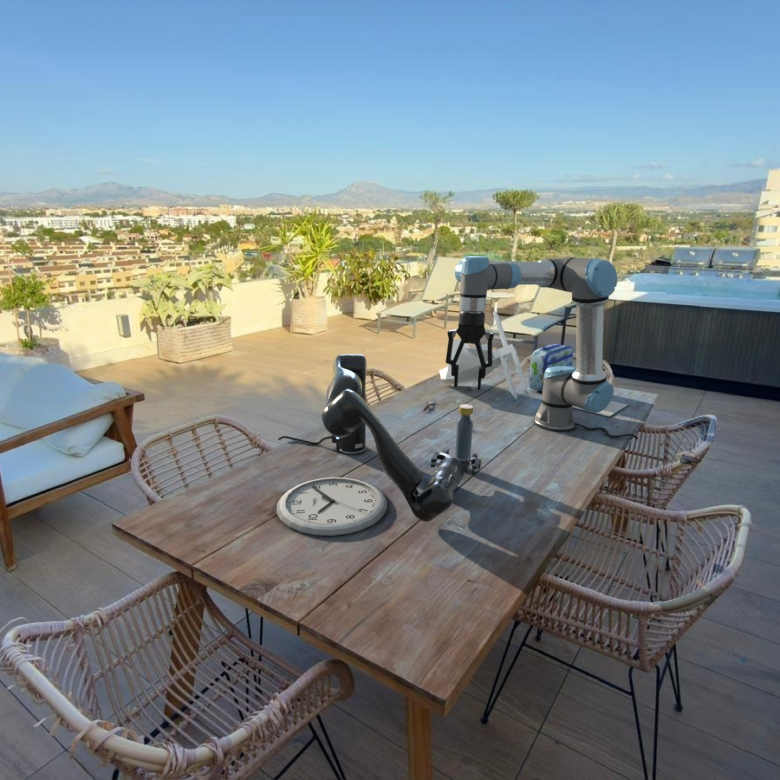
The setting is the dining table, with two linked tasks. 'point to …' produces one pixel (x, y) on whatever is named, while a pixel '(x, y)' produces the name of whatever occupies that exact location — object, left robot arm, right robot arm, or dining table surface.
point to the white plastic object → (471, 361)
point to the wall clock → (331, 506)
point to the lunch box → (548, 362)
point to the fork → (430, 403)
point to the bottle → (464, 437)
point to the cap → (466, 409)
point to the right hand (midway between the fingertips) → (467, 387)
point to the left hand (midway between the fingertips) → (461, 453)
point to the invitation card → (609, 408)
